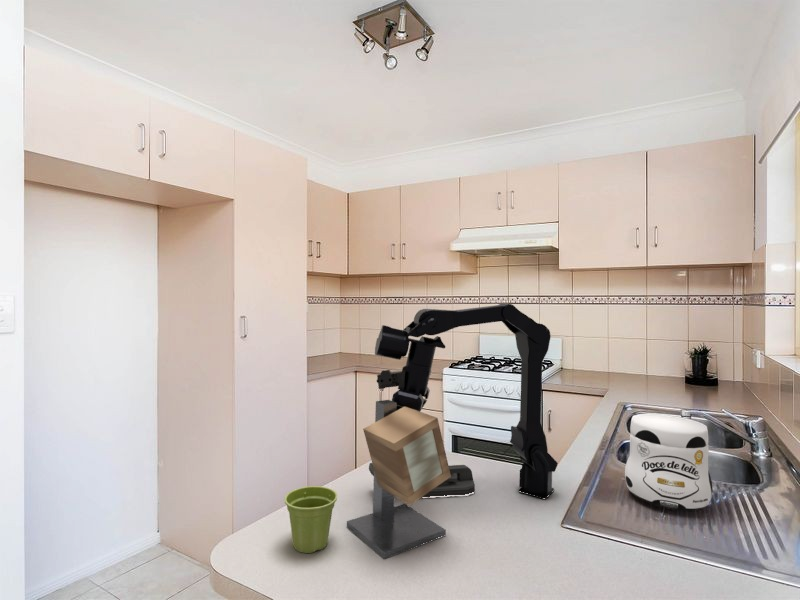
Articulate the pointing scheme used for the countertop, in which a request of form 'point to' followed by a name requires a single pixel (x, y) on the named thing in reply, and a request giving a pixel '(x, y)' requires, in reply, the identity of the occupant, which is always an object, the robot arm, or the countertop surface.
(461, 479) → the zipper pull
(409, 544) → the post stand
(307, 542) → the plant pot
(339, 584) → the countertop surface
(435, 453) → the cardboard box
